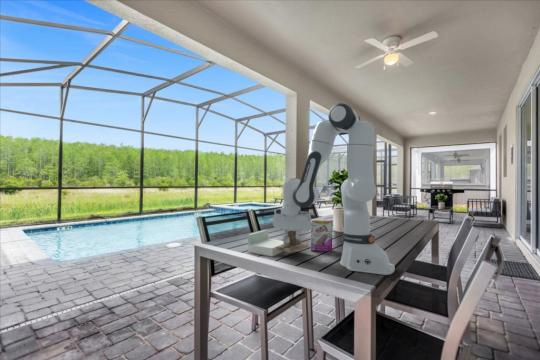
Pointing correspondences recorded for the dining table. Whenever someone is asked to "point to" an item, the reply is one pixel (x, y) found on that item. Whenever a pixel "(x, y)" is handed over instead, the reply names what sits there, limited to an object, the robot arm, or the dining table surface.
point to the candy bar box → (321, 235)
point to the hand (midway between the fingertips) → (292, 238)
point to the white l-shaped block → (263, 244)
